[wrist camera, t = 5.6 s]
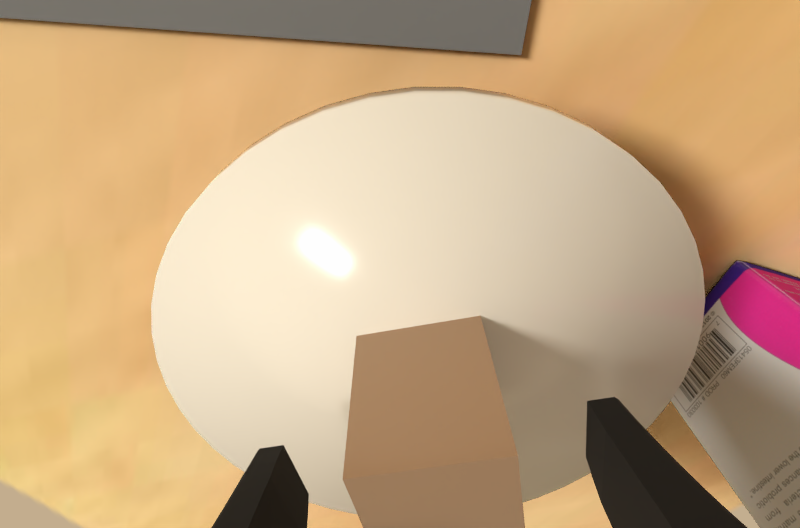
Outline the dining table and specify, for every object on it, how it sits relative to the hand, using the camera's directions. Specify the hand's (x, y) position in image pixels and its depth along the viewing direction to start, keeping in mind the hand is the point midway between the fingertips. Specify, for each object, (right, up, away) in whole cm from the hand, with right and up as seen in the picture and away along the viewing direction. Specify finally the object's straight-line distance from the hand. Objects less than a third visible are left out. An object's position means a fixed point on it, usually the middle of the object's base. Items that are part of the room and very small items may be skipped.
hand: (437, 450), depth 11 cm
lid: (0, +2, +2) cm, 3 cm away
